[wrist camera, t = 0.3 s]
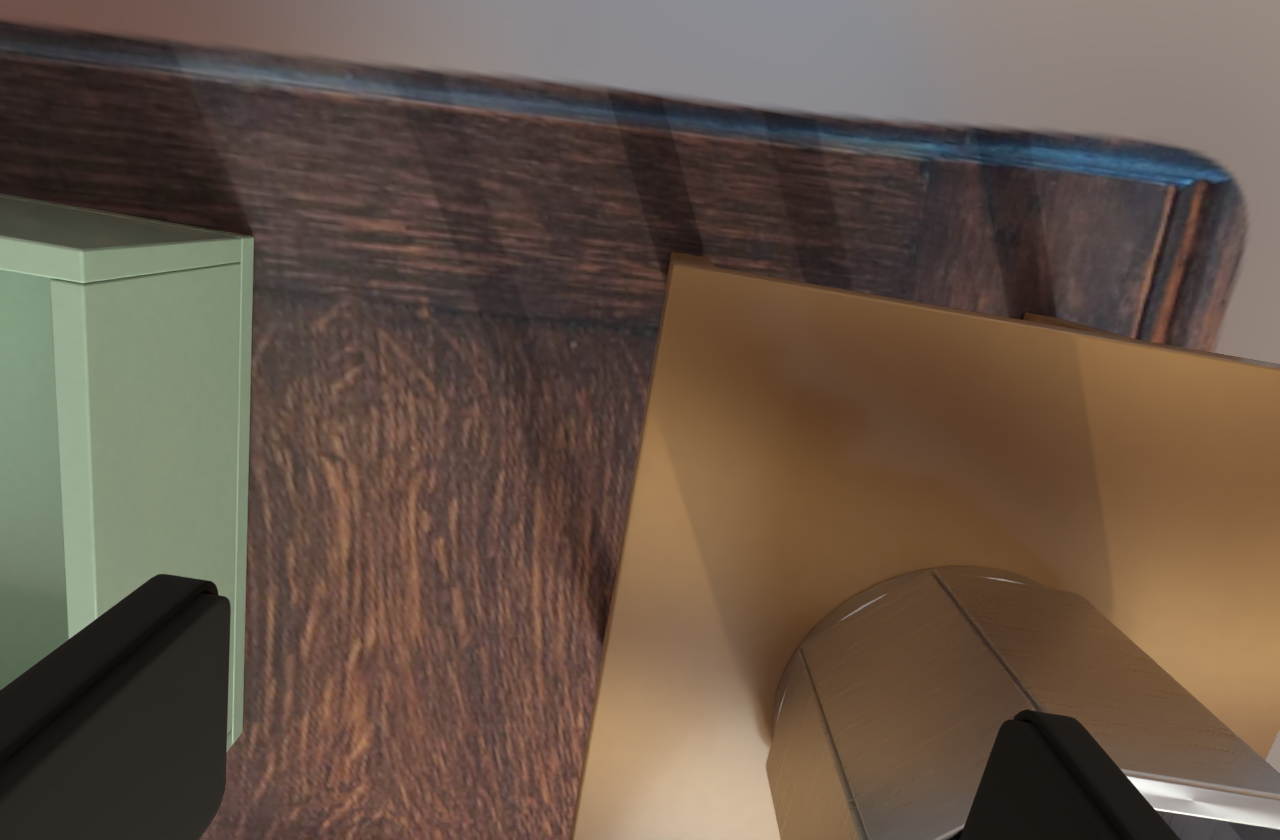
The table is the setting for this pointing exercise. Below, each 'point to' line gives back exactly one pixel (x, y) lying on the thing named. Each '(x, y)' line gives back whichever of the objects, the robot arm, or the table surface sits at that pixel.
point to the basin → (119, 420)
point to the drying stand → (910, 516)
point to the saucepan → (987, 712)
